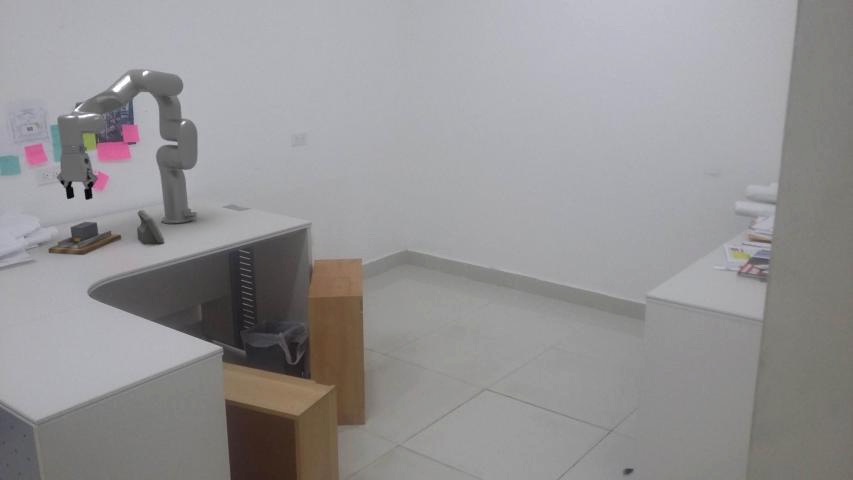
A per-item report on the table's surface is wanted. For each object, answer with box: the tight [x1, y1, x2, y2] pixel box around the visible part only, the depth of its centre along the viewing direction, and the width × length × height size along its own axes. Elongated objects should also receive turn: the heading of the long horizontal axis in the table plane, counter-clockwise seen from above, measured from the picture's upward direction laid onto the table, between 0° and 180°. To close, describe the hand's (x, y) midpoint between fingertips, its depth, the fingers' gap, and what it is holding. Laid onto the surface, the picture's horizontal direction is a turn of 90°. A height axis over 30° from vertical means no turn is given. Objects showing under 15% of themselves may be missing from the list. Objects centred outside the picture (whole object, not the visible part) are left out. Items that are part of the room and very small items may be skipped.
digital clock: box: [136, 209, 165, 245], centre depth 276 cm, size 16×9×11 cm, turn 22°
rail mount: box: [48, 230, 122, 256], centre depth 270 cm, size 14×22×3 cm, turn 168°
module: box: [70, 221, 99, 243], centre depth 269 cm, size 5×9×6 cm, turn 168°
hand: (79, 198), depth 266 cm, fingers open, 6 cm apart
